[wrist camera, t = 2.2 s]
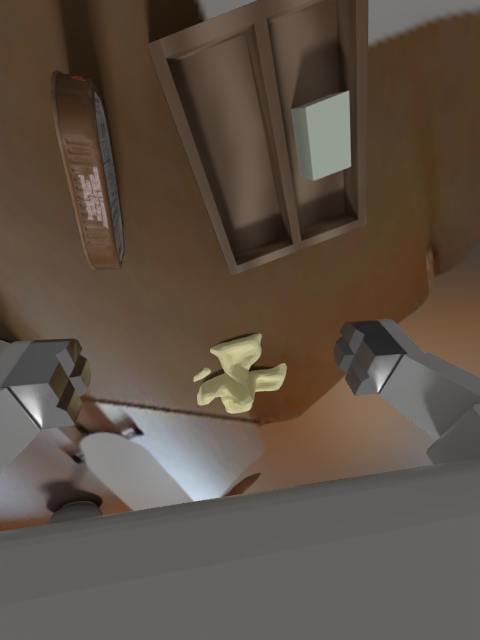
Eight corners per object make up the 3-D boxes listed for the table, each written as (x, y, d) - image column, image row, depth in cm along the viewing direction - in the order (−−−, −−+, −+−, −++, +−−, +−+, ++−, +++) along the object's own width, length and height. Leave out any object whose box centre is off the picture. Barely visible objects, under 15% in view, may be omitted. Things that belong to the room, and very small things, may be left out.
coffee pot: (91, 519, 69) (74, 601, 57) (42, 516, 63) (12, 607, 51) (136, 480, 62) (128, 564, 50) (87, 472, 56) (65, 565, 44)
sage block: (300, 175, 29) (313, 181, 27) (291, 109, 26) (305, 107, 23) (334, 162, 29) (351, 166, 26) (329, 94, 26) (349, 90, 23)
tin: (69, 78, 22) (26, 58, 15) (110, 84, 23) (85, 68, 16) (103, 251, 31) (84, 286, 24) (131, 252, 31) (121, 286, 25)
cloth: (238, 316, 41) (247, 342, 36) (305, 363, 51) (319, 388, 46) (153, 398, 48) (151, 428, 43) (227, 425, 58) (232, 453, 53)
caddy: (225, 262, 35) (231, 276, 31) (149, 55, 22) (146, 44, 19) (348, 215, 34) (366, 224, 31) (340, -20, 22) (368, -44, 19)
